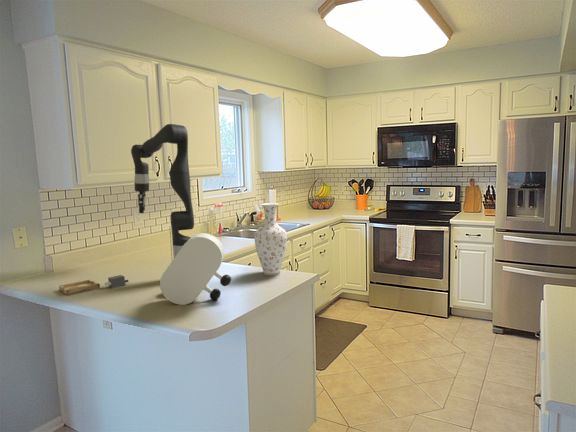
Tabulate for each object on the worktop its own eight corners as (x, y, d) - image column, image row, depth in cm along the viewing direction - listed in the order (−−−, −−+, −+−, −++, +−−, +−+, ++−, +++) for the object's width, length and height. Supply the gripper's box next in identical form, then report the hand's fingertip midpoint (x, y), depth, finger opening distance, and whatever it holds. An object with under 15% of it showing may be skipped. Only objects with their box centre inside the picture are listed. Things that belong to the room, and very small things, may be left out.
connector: (130, 284, 209) (129, 275, 209) (107, 289, 202) (106, 280, 201) (126, 283, 212) (125, 273, 211) (104, 288, 205) (103, 278, 204)
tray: (99, 288, 204) (99, 283, 204) (67, 295, 194) (67, 290, 194) (90, 283, 212) (90, 279, 212) (59, 290, 202) (59, 285, 202)
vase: (271, 267, 234) (268, 201, 229) (294, 272, 224) (292, 203, 219) (249, 274, 222) (246, 204, 217) (272, 279, 212) (270, 206, 207)
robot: (246, 259, 186) (198, 225, 183) (244, 264, 177) (195, 229, 174) (204, 314, 188) (157, 282, 186) (201, 322, 180) (152, 288, 177)
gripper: (148, 183, 232) (148, 214, 235) (150, 181, 246) (150, 209, 249) (133, 183, 231) (133, 214, 233) (135, 180, 244) (136, 209, 247)
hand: (142, 211), depth 241 cm, fingers open, 8 cm apart
